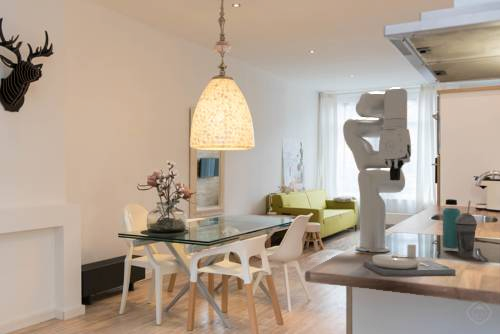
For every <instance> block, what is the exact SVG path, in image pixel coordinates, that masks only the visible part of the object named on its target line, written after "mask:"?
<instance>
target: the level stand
mask: <svg viewBox="0 0 500 334" xmlns="http://www.w3.org/2000/svg"><path fill="white" fill-rule="evenodd" d="M363 266H364V267H365V268H368V269H369V270H371V271H373V272H375V273H376V274H379V275H381V276H382V277H385V276H386V277H387V276H388V277H391V276H395V277H396V276H399V277H400V276H456V269H455V268H452V267H449V266H446V265H443V264H441V263H438V262H435V261H432V260H429V259H425V260H424V259H421V260H420V259H418V267H416V268H410V269H395V268H386V267H380V266H376V265H374V264H373V260H363Z"/></svg>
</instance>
